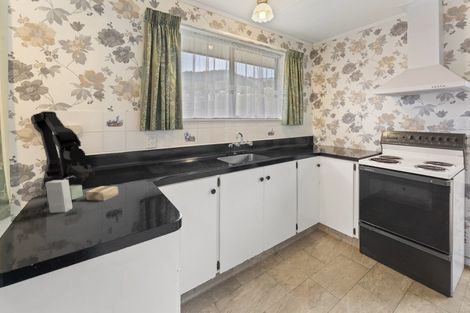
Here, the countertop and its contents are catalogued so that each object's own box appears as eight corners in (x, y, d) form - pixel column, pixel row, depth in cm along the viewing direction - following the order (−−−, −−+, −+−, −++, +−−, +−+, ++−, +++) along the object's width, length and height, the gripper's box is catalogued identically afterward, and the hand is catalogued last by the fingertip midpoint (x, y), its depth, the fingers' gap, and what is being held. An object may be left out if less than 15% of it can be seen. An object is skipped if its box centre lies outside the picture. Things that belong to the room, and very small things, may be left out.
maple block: (86, 200, 102) (85, 191, 101) (102, 193, 110) (101, 186, 110) (103, 201, 100) (102, 192, 99) (118, 194, 108) (117, 186, 108)
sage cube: (63, 198, 99) (62, 187, 98) (74, 195, 103) (72, 184, 103) (72, 199, 97) (70, 188, 97) (83, 195, 102) (81, 185, 101)
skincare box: (73, 208, 91) (69, 179, 89) (65, 212, 87) (61, 182, 85) (57, 208, 91) (53, 179, 89) (49, 213, 87) (44, 182, 85)
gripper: (61, 164, 87) (66, 203, 89) (101, 157, 105) (105, 189, 107) (39, 164, 90) (45, 201, 92) (82, 156, 107) (86, 188, 110)
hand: (73, 195), depth 100 cm, fingers closed on sage cube, 5 cm apart
